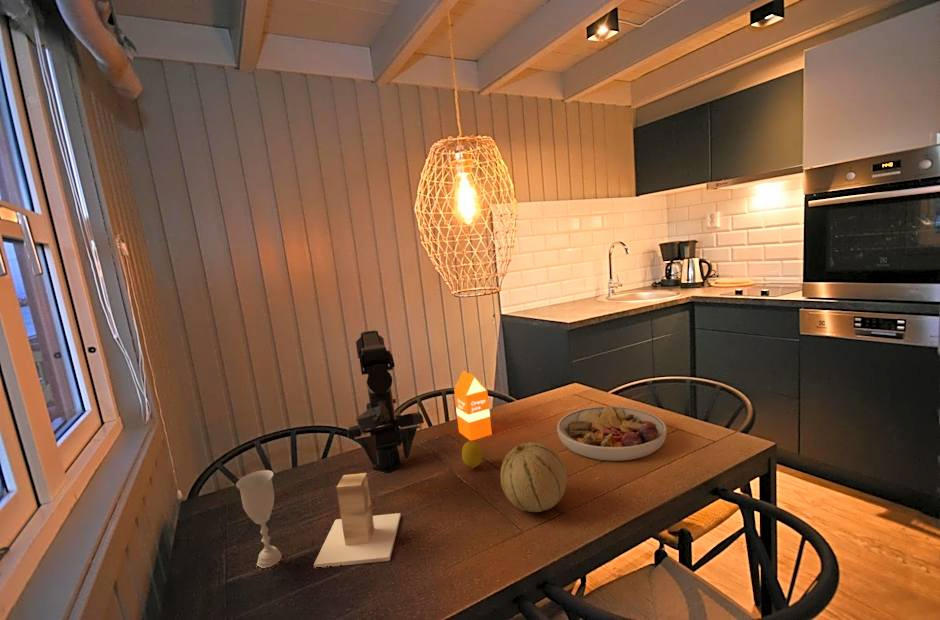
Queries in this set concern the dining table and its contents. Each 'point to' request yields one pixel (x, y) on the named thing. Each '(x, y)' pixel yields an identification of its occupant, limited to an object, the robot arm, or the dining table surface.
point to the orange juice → (472, 407)
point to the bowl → (612, 433)
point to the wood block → (355, 509)
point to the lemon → (472, 454)
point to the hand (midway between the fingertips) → (390, 461)
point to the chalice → (260, 509)
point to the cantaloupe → (533, 477)
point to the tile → (373, 551)
